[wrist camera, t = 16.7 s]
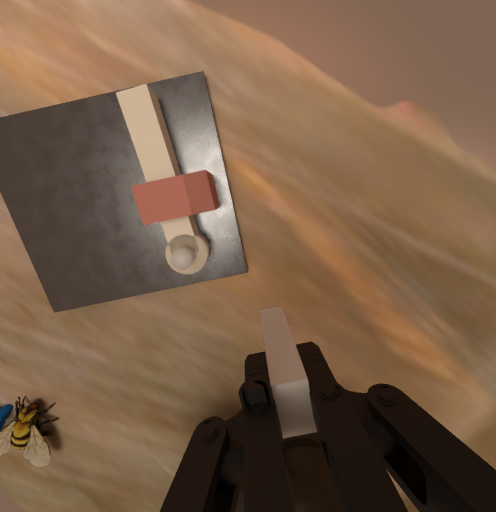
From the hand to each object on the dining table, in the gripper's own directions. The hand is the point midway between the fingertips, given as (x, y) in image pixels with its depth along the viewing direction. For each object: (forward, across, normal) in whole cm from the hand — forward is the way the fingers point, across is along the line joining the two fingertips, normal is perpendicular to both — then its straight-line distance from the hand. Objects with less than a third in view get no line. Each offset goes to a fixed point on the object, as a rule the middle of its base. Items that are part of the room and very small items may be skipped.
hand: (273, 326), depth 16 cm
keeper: (+25, +9, -10) cm, 28 cm away
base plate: (+26, +19, -11) cm, 34 cm away
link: (+24, +10, -11) cm, 29 cm away
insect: (+27, +49, +25) cm, 61 cm away
